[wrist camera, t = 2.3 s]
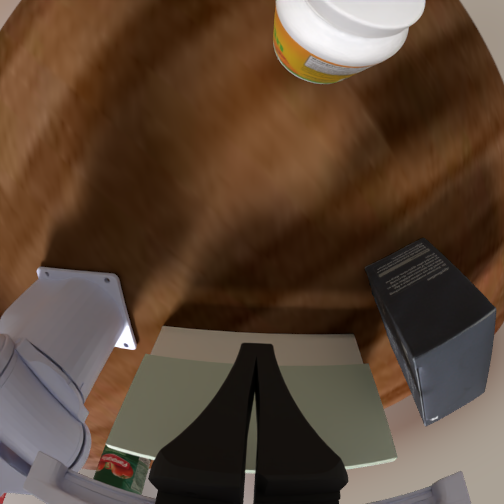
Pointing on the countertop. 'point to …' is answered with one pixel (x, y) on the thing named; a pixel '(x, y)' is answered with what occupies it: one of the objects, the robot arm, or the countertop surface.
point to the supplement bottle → (340, 35)
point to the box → (434, 327)
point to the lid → (254, 408)
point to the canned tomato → (122, 470)
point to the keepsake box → (285, 345)
